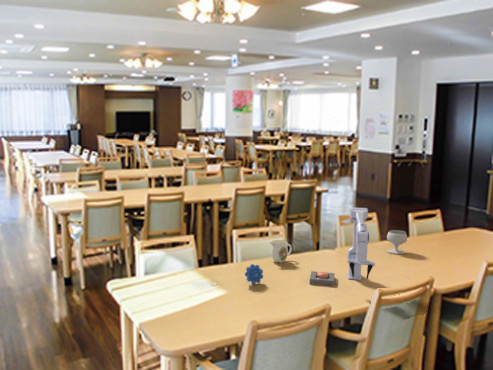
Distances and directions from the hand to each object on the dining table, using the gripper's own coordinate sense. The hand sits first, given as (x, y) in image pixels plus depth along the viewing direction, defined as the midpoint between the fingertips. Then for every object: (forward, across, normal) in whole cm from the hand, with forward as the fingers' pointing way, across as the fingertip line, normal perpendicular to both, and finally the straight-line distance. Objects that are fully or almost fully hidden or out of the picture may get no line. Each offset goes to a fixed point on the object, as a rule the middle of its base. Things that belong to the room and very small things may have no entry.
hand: (360, 277), depth 261 cm
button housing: (+10, -23, +13) cm, 28 cm away
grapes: (+10, -58, -9) cm, 60 cm away
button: (+8, -23, +13) cm, 27 cm away
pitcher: (+10, -56, +39) cm, 69 cm away
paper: (+10, -80, -23) cm, 83 cm away
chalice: (+10, +16, +93) cm, 95 cm away
